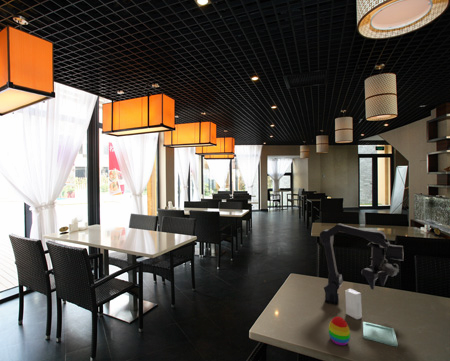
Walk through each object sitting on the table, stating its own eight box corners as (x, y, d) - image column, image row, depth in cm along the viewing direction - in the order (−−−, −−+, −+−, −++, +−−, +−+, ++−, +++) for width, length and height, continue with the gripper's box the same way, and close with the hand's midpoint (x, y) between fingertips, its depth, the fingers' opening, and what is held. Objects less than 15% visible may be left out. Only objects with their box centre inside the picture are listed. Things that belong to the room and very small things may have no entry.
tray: (363, 338, 105) (363, 335, 105) (362, 324, 116) (362, 321, 116) (397, 347, 100) (397, 344, 100) (393, 331, 110) (393, 328, 110)
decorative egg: (324, 340, 104) (324, 316, 104) (334, 333, 109) (334, 310, 109) (343, 350, 98) (343, 325, 98) (353, 342, 103) (353, 318, 103)
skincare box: (362, 317, 121) (362, 292, 121) (356, 320, 119) (356, 294, 120) (351, 311, 127) (350, 288, 127) (345, 314, 125) (344, 289, 125)
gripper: (385, 264, 113) (384, 298, 113) (405, 258, 122) (405, 289, 122) (361, 257, 122) (360, 288, 122) (382, 252, 132) (381, 281, 132)
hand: (377, 287), depth 124 cm, fingers open, 9 cm apart
